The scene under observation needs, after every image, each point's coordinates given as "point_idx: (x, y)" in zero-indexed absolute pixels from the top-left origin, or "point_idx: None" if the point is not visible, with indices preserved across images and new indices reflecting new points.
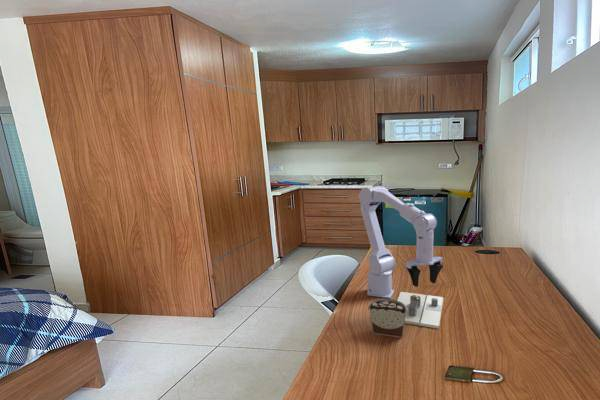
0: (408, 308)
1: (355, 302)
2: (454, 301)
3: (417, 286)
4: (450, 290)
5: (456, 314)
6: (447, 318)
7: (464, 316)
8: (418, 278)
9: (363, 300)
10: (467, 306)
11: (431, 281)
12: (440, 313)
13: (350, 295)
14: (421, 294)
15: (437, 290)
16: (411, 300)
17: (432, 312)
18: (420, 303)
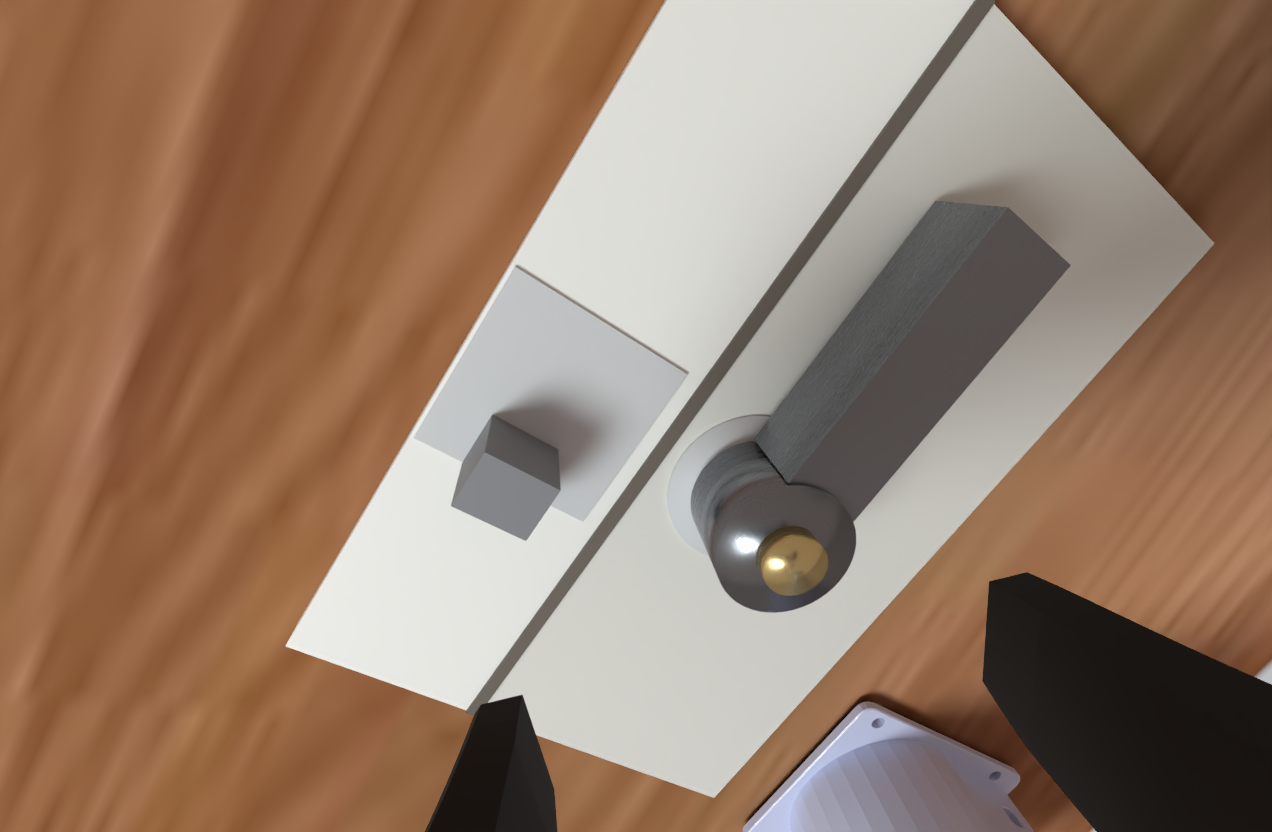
0: None
1: None
2: (160, 564)
3: (1005, 581)
4: (101, 818)
5: (289, 202)
6: (482, 114)
7: (185, 107)
8: (1256, 738)
9: None
10: (11, 404)
11: (543, 779)
12: (548, 209)
13: None
14: None
15: (269, 824)
16: (887, 478)
17: (645, 263)
18: (708, 481)
